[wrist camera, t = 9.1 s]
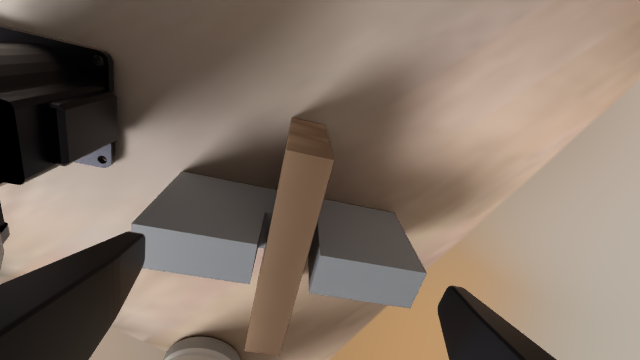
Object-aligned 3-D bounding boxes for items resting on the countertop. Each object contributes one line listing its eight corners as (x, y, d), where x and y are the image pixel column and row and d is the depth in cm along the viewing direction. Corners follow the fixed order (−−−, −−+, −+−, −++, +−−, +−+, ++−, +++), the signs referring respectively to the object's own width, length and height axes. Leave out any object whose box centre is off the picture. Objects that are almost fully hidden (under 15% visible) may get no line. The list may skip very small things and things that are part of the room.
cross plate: (258, 276, 22) (244, 351, 17) (291, 117, 18) (286, 149, 12) (285, 280, 23) (279, 355, 17) (324, 125, 18) (334, 160, 13)
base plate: (179, 204, 20) (131, 266, 14) (181, 171, 19) (131, 223, 13) (383, 241, 22) (409, 308, 16) (394, 212, 21) (426, 273, 15)
